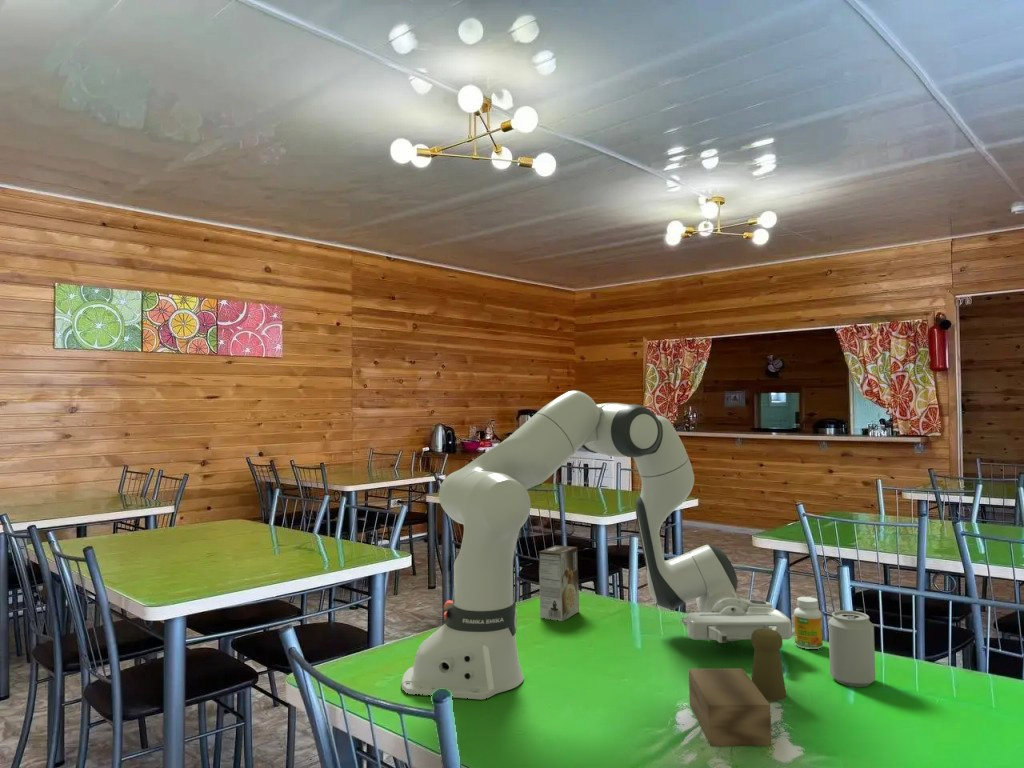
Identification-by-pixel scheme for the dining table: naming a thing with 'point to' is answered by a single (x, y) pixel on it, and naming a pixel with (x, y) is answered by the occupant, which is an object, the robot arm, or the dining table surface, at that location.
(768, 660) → the cork
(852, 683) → the can
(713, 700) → the walnut block
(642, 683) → the dining table surface
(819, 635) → the supplement bottle
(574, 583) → the coffee box
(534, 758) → the dining table surface
